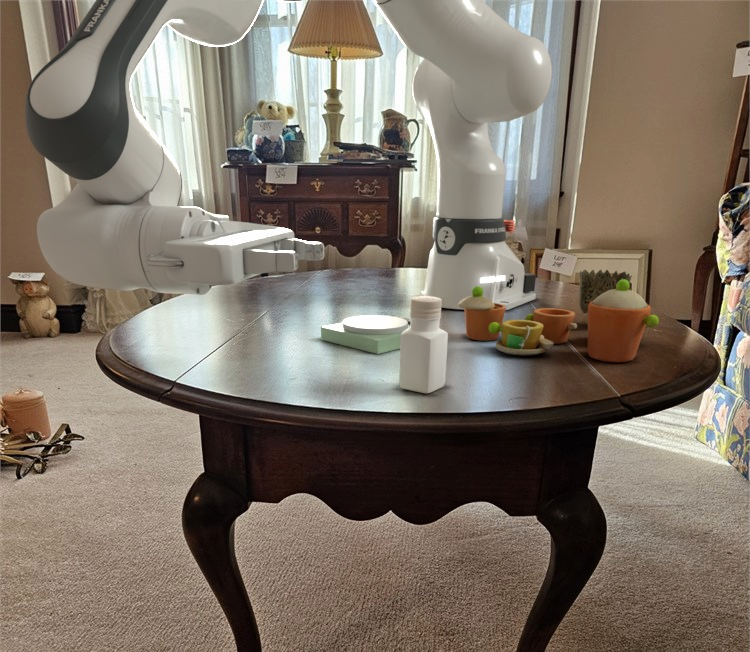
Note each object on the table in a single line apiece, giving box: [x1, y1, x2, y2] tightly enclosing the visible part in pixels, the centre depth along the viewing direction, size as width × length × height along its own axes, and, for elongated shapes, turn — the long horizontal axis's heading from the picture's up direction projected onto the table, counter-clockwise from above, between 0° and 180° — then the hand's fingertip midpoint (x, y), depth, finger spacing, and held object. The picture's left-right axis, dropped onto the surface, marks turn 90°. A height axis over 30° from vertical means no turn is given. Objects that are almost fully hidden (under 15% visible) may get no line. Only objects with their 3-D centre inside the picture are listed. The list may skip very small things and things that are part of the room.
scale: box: [320, 314, 411, 355], centre depth 91 cm, size 12×11×3 cm
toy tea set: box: [458, 279, 660, 363], centre depth 87 cm, size 26×16×10 cm, turn 80°
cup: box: [578, 269, 633, 327], centre depth 99 cm, size 8×7×8 cm
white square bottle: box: [398, 295, 449, 395], centre depth 69 cm, size 4×4×10 cm
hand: (310, 256), depth 68 cm, fingers open, 8 cm apart
